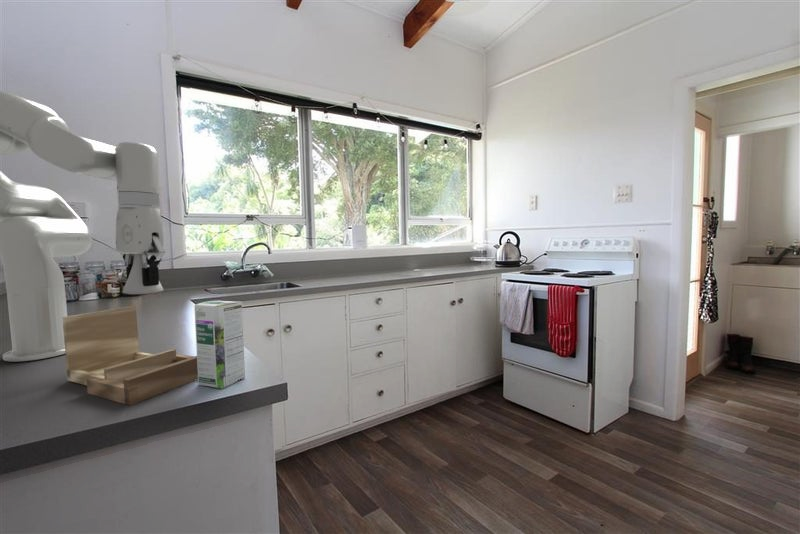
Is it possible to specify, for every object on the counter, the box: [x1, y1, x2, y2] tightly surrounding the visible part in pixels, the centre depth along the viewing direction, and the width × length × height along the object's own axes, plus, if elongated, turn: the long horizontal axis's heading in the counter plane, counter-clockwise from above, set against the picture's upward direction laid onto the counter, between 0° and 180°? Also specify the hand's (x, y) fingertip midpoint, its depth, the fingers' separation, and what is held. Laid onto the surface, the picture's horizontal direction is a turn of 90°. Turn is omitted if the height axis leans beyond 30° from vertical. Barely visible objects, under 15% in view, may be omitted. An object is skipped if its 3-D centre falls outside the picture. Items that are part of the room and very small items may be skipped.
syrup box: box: [194, 300, 246, 390], centre depth 66 cm, size 6×6×14 cm
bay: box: [86, 352, 198, 407], centre depth 66 cm, size 12×15×4 cm
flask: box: [121, 250, 164, 295], centre depth 82 cm, size 7×7×10 cm
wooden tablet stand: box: [62, 305, 177, 386], centre depth 70 cm, size 13×12×12 cm
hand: (143, 283), depth 82 cm, fingers closed on flask, 4 cm apart
